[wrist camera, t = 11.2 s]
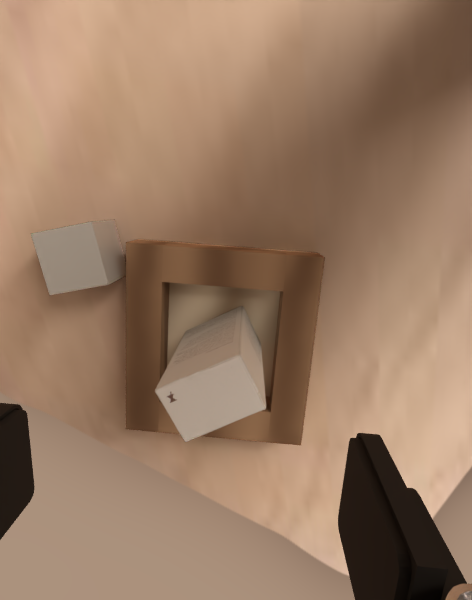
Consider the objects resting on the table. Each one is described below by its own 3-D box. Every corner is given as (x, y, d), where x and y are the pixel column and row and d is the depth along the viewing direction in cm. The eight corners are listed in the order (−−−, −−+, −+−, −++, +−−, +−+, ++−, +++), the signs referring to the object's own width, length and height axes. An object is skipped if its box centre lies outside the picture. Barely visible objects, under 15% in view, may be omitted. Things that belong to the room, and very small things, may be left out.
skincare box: (205, 368, 36) (182, 445, 24) (185, 329, 35) (150, 390, 23) (264, 343, 35) (268, 411, 23) (244, 303, 34) (239, 352, 23)
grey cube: (115, 219, 34) (91, 221, 29) (129, 274, 35) (108, 284, 30) (62, 229, 34) (30, 233, 29) (78, 283, 35) (49, 295, 30)
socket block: (317, 252, 33) (324, 257, 30) (296, 423, 37) (300, 445, 34) (139, 239, 34) (126, 242, 30) (137, 409, 38) (125, 429, 35)
